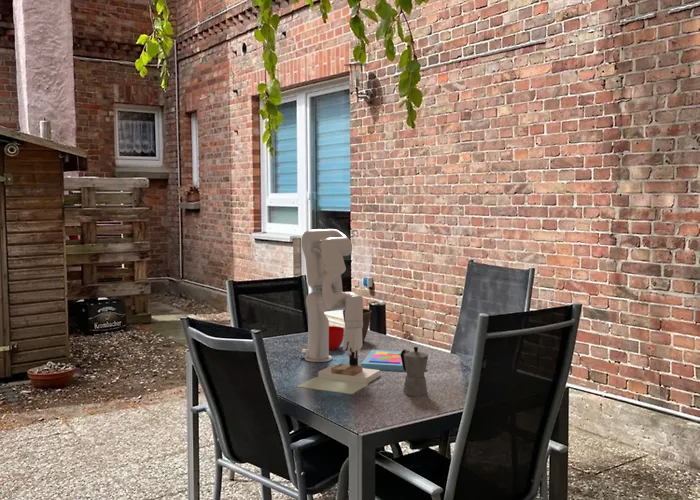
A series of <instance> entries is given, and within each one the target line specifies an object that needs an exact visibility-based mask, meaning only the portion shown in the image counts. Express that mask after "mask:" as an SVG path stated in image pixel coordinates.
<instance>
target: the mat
mask: <svg viewBox="0 0 700 500" xmlns="http://www.w3.org/2000/svg"><path fill="white" fill-rule="evenodd" d="M369 385H370V383H360V382H353V381H345V380H337V379H329V378H321V377H318V376H315V377H313V378H311V379H308V380H307V381H305V382H302V383H301V384H299V385H297V387H296V388H301V389H302V388H303V389H309V390H316V391H323V392H330V393H338V394H339V393H340V394H346V395H353V394H356V393H357V392H359V391H361V390H362V389H364V388H366V387H367V386H369Z"/></svg>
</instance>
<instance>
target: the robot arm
mask: <svg viewBox="0 0 700 500" xmlns="http://www.w3.org/2000/svg"><path fill="white" fill-rule="evenodd" d="M301 248H302V252H303V255H304V259H305V266H306V267H305V268H306V279H307V284H308V286H309V287H310V288H311V289H321V290H316V291H312V292H309V293H308V294H307V295H306V298H305V306H306V309H307V310H306V311H307V328H308V329H307V330H308V331H307V338H308V339H307V340H308V341H307V342H308V343H307V345H308V346H307V349H306V348H302V349H301V351H300V353H301V354H304V355H305V356H304V360H305V361H307V362H311V363H326V362H330V361H332V360H333V356H332V355H330V350H329V326H330V321H329V318H328V317H327V315H326V314H325V312H334V311H341V310H342V311H343V310H345V323H344V336H343V347H342V348H343V352H346V356H348V358H349V359H348V360H349V364H348V365H356V366H359V361H358V360H359V352H360V351H361V349H362V348H363V342H362V328H363V309H364V307H363V306H364V304H363V303H364V300H363V299H364V298H363V297H364V296H362V295H361V294H356V293H355V292H353V291H343V281H342V274H344V273H345V272H346V270H347V268H346V267H347V266H346V263H345V260H344V257H346V256H350V255H351V254H352V251H353V244H352V241H351V240H350V238H349V237H348V236H346V234H344V233H343V232H341V231H340V230H338V229H335V228H327V229H326V228H325V229H322V228H317V229H309V230H307V231H306V230H305V232H304V233H303V234H302V236H301Z"/></svg>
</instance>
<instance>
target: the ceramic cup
mask: <svg viewBox="0 0 700 500" xmlns="http://www.w3.org/2000/svg"><path fill="white" fill-rule="evenodd" d="M344 332H345V327H342V326H335V325H331V326H330V325H329V351H336V350H338V349H339V348H340V346H341V345H342V343H343V341H344ZM335 349H336V350H335Z"/></svg>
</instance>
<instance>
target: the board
mask: <svg viewBox="0 0 700 500" xmlns="http://www.w3.org/2000/svg"><path fill="white" fill-rule="evenodd" d="M337 365H338V364H332V365H329V366H327V367H326V368H323V369H321V370H320V371H319V370H318V371H317V377H321V378H329V379H337V380H345V381H353V382H360V383H368V384H370V383H372V382H373V381H374V380H376V379H377V378H380V377H381V370H376V369H366V368H362V371H361V372H360V373H358V374H356V375H354V376H350V375H342V374H334V373H331V368H333V367H335V366H337Z"/></svg>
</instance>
